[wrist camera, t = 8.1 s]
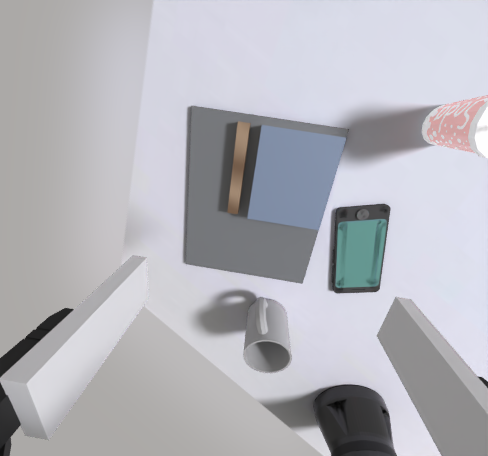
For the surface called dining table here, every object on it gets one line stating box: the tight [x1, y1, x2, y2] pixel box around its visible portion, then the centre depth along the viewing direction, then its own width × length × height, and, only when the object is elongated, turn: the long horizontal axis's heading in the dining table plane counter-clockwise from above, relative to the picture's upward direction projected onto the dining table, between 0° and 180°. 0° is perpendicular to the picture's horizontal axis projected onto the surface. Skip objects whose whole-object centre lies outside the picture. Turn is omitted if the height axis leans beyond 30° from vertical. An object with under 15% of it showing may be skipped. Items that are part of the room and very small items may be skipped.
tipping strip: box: [227, 121, 251, 214], centre depth 31 cm, size 12×2×2 cm, turn 172°
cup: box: [243, 297, 292, 373], centre depth 38 cm, size 7×10×9 cm
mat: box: [186, 106, 349, 283], centre depth 34 cm, size 24×20×1 cm
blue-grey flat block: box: [247, 125, 346, 230], centre depth 30 cm, size 12×2×10 cm
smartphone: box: [332, 204, 390, 293], centre depth 35 cm, size 7×1×15 cm
